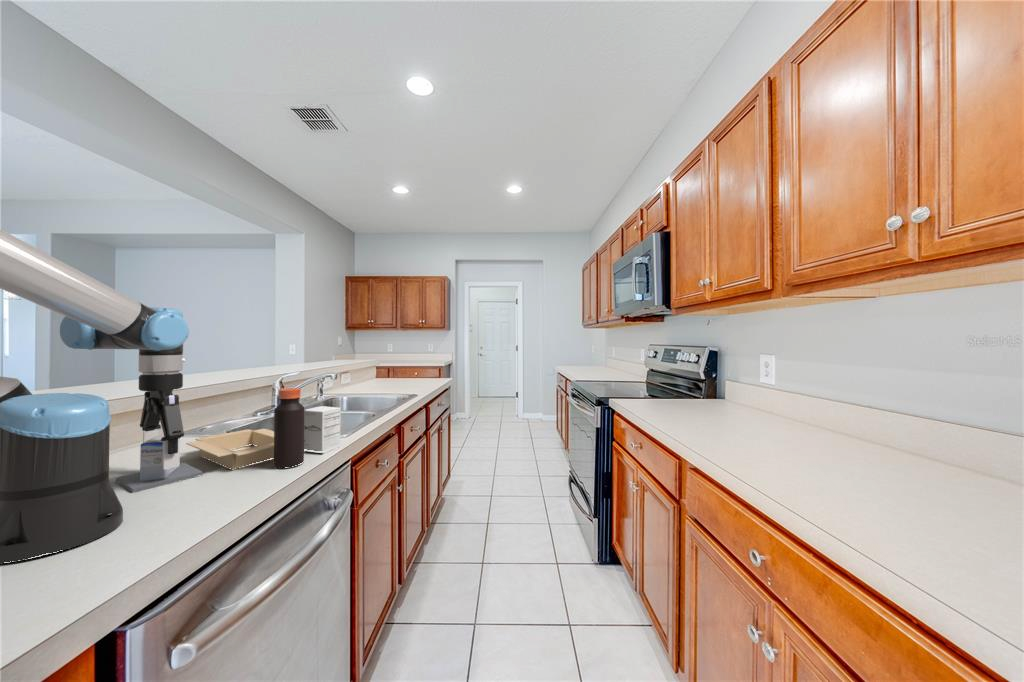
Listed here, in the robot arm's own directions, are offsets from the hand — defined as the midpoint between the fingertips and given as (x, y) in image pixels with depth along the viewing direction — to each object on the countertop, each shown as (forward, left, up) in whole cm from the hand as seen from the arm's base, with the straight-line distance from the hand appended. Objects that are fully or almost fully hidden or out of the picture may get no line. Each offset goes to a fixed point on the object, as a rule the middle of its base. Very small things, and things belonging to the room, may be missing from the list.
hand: (160, 462), depth 85 cm
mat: (0, 0, -4) cm, 4 cm away
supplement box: (-11, -33, -4) cm, 35 cm away
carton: (+2, -18, -4) cm, 18 cm away
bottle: (-16, -21, -4) cm, 27 cm away
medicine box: (0, 0, -3) cm, 3 cm away
